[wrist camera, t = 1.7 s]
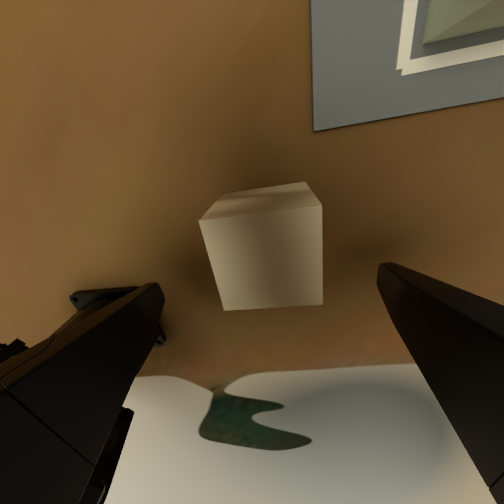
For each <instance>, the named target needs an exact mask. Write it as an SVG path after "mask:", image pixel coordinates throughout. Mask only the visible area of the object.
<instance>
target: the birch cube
mask: <svg viewBox="0 0 504 504" xmlns="http://www.w3.org/2000/svg"><path fill="white" fill-rule="evenodd" d="M199 225H200V228H201V232H202V235H203V238H204V242H205V245H206V249H207V252H208V256H209V259H210V263H211V266H212V270H213V273H214V277H215V280H216V284H217V287H218V290H219V294H220V297H221V301H222V304H223V308H224V311H228V310H245V309H262V308H278V307H295V306H312V305H323V253H322V204H321V203H320V201H319V200H318V199H317V197H316V196H315V194H314V193H313V192H312V190H311V189H310V187H309V186H308V185H307V183H306V182H298V183H291V184H285V185H278V186H271V187H264V188H257V189H250V190H243V191H236V192H229V193H223V194H222V195H221V196H220V197H219V198H218V199H217V200H216V202H215V203H214V204H213V205H212V206H211V207H210V208H209V209H208V211H207V212H206V213H205V214H204V215H203V216H202V217H201V218H200V220H199Z"/></svg>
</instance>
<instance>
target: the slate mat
mask: <svg viewBox="0 0 504 504" xmlns="http://www.w3.org/2000/svg"><path fill="white" fill-rule="evenodd" d="M428 3H429V0H310V36H311V76H312V115H313V131H318V130H324V129H329V128H335V127H340V126H346V125H351V124H357V123H362V122H368V121H374V120H379V119H385V118H390V117H396V116H401V115H407V114H413V113H418V112H424V111H429V110H435V109H440V108H446V107H452V106H457V105H463V104H468V103H474V102H479V101H485V100H490V99H496V98H502V97H504V26H503V27H498V28H494V29H489V30H485V31H480V32H476V33H471V34H467V35H462V36H458V37H453V38H449V39H444V40H440V41H436V42H431V43H427V44H422V42H423V35H424V29H425V22H426V16H427V9H428Z"/></svg>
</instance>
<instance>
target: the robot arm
mask: <svg viewBox="0 0 504 504" xmlns="http://www.w3.org/2000/svg"><path fill="white" fill-rule="evenodd" d="M377 287H378V290H379V292H380V294H381V297H382V299H383V301H384V304H385V306H386V308H387V311H388V313H389V315H390V318H391V320H392V322H393V324H394V326H395V328H396V329H397V331H398V333H399V335H400V336H401V338H402V340H403V341H404V343H405V345H406V347H407V348H408V350H409V352H410V354H411V355H412V357H413V359H414V360H415V362H416V364H417V366H418V367H419V369H420V371H421V373H422V374H423V376H424V378H425V379H426V381H427V383H428V385H429V386H430V388H431V390H432V391H433V393H434V395H435V397H436V398H437V400H438V402H439V404H440V405H441V407H442V409H443V411H444V412H445V414H446V416H447V418H448V419H449V421H450V423H451V424H452V426H453V428H454V430H455V431H456V433H457V435H458V437H459V438H460V440H461V442H462V444H463V445H464V447H465V448H466V450H467V452H468V454H469V456H470V457H471V459H472V460H473V462H474V464H475V466H476V468H477V469H478V471H479V473H480V475H481V476H482V478H483V480H484V482H485V483H486V485H487V486H488V487H489V491H490V492H491V494H492V496H493V497H494V499H495V501H496V503H497V504H504V306H503V305H500V304H498V303H495V302H493V301H490V300H488V299H485V298H483V297H480V296H477V295H475V294H472V293H470V292H467V291H465V290H462V289H460V288H457V287H454V286H452V285H449V284H447V283H444V282H442V281H439V280H437V279H434V278H431V277H429V276H426V275H424V274H421V273H419V272H416V271H414V270H411V269H408V268H406V267H403V266H401V265H398V264H396V263H393V262H387V263H381V264H379V267H378V274H377ZM69 298H70V300H71V302H72V303H73V305H74V306H75V307H76V309H77V310H78V312H77V313H76V314H74V315H73V316H72V317H71V318H70V319H69V320H68V321H67V322H65V323H64V324H63V325H62V326H61V327H60V328H59V329H58V330H57V331H55V332H54V333H53V334H52V335H51V336H50V337H49V338H47V339H46V340H44V341H42V342H40V343H38V344H36V345H35V346H33V347H31V348H28V347H27V346H25V344H26V343H24V342H23V341H21V340H19V339H18V338H17V339H16V340H14V341H13V342H12V343H11V344H9V345H6V344H5V343H4V344H1V343H0V504H104V501H105V499H106V496H107V494H108V491H109V488H110V485H111V483H112V479H113V476H114V473H115V470H116V467H117V464H118V461H119V458H120V455H121V451H122V449H123V445H124V443H125V440H126V436H127V433H128V430H129V427H130V424H131V421H132V418H133V415H134V411H132V410H131V409H129V408H124V407H122V405H123V403H124V400H125V398H126V396H127V394H128V392H129V389H130V387H131V385H132V383H133V380H134V378H135V376H136V375H137V374H138V372H139V370H140V369H141V367H142V365H143V363H144V362H145V360H146V358H147V356H148V355H149V353H150V351H151V349H152V348H153V346H163V345H164V343H165V341H166V338H165V336H164V334H163V331H162V329H161V327H160V325H159V323H158V321H159V318H160V315H161V312H162V309H163V306H164V303H165V297H164V294H163V292H162V290H161V288H160V285H159V284H158V283H156V282H154V283H147V284H145V285H143V286H141V287H140V288H137V287H130V288H117V289H105V290H93V291H81V292H74V293H73V294H72V295H70V297H69Z"/></svg>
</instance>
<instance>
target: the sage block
mask: <svg viewBox="0 0 504 504" xmlns="http://www.w3.org/2000/svg"><path fill="white" fill-rule="evenodd" d="M503 26H504V0H429V3H428V9H427V16H426V22H425V29H424V35H423V42H422V44H427V43H431V42H436V41H440V40H444V39H449V38H453V37H458V36H462V35H467V34H471V33H476V32H480V31H485V30H489V29H494V28H498V27H503Z"/></svg>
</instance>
